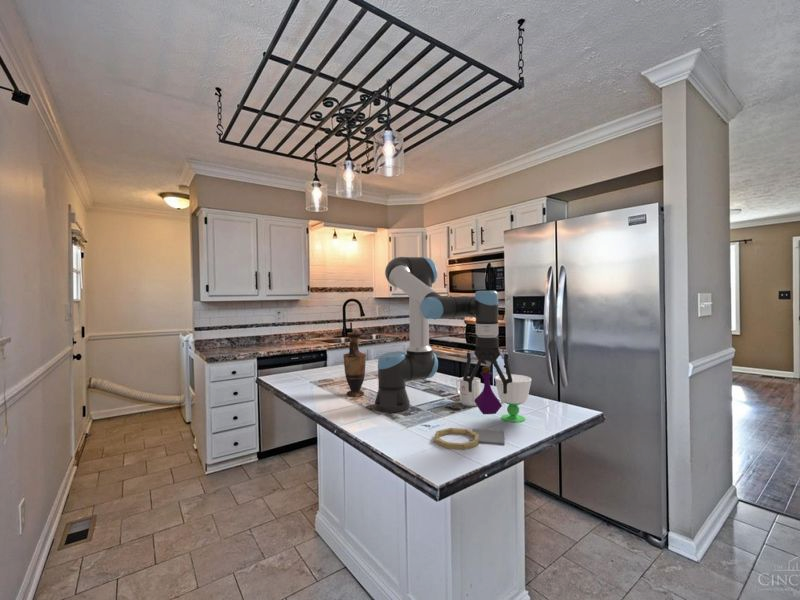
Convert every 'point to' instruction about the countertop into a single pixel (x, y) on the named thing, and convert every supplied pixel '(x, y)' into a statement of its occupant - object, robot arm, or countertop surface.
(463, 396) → the mug
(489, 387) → the perfume bottle
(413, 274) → the robot arm
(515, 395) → the cup
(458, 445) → the wooden octagonal frame
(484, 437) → the slate coaster
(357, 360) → the vase
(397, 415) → the countertop surface
